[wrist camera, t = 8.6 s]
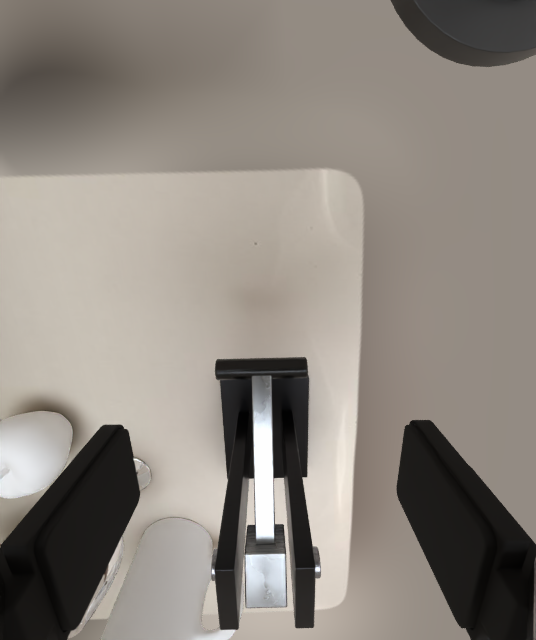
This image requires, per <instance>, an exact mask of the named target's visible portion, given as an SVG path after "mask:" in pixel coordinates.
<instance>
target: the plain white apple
mask: <svg viewBox="0 0 536 640" xmlns="http://www.w3.org/2000/svg"><path fill="white" fill-rule="evenodd" d="M72 436H73V430H72V426H71V424H70V422H69V421H68V420H67V419H66V418H65V417H64V416H63V415H61V414H59V413H56V412H49V411H34V412H29V413H24V414H18V415H14V416H11V417H8V418H5V419H2V420H0V497H3V498H19V497H23V496H27V495H31V494H34V493H36V492H38V491H40V490H42V489H44V488H46V487H47V486H48V485H49V484H50V483H52V482H53V481H54V480H55V479H56V478H57V477H58V475H59V474H60V473H61V471H62V470H63V468H64V467H65V465H66V462H67V459H68V456H69V452H70V447H71V443H72Z"/></svg>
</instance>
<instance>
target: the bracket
mask: <svg viewBox="0 0 536 640" xmlns="http://www.w3.org/2000/svg"><path fill="white" fill-rule="evenodd" d="M271 384H272V427H273V469H274V478H284V484H285V497H286V511H287V524H288V537H289V551H290V564H291V578H292V591H293V604H294V617H295V627H296V628H313V627H314V607H315V578H320V577H321V566H320V557H319V551H318V548H317V547H316V546H315V547H313V546H312V539H311V533H310V526H309V519H308V513H307V506H306V499H305V493H304V486H303V479H302V477H307V458H308V400H309V377H308V374H307V378H292V379H271ZM220 386H221V399H222V413H223V426H224V440H225V453H226V467H227V479H228V484H227V490H226V496H225V503H224V509H223V516H222V522H221V529H220V535H219V542H218V548H217V549H214V551H213V555H212V563H211V579H212V581H215V583H216V593H217V603H218V614H219V624H220V630H237V629H238V628H239V617H240V603H241V588H242V574H243V559H244V545H245V530H246V516H247V501H248V487H249V479H250V478H254V454H253V407H252V379H249V380H220Z"/></svg>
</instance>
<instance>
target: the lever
mask: <svg viewBox="0 0 536 640" xmlns="http://www.w3.org/2000/svg"><path fill="white" fill-rule="evenodd" d="M307 374H308V366H307V359H306V358H305V357H293V358H250V359H217V360H216V364H215V376H216V379H217V380H249V379H252V407H253V454H254V500H255V525H248V526H247V536H246V545H245V602H246V608H273V607H287V577H286V548H285V536H284V525H283V524H275V512H274V469H273V427H272V384H271V379H292V378H307Z"/></svg>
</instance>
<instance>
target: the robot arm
mask: <svg viewBox="0 0 536 640" xmlns="http://www.w3.org/2000/svg"><path fill="white" fill-rule="evenodd" d="M397 495H398V498H399V501H400V503H401V505H402V508H403V510H404V512H405V514H406V516H407V518H408V520H409V522H410V524H411V527H412V529H413V531H414V533H415V535H416V537H417V539H418V541H419V543H420V546H421V548H422V550H423V552H424V554H425V556H426V558H427V561H428V562H429V565H430V567H431V569H432V571H433V573H434V575H435V577H436V580H437V582H438V584H439V586H440V588H441V590H442V592H443V594H444V596H445V599H446V601H447V603H448V605H449V607H450V609H451V611H452V613H453V615H454V617H455V620H456V621H457V623H458V624H459V626H460V627H461V628H466V630H467V632H468V634H469V636H470V638H471V640H536V544H535V543H534V542H533V541H532V539H531V538H530V537H529V536H528V535H527V534H526V532H525V531H524V530H523V528H522V527H521V526H520V525H519V524H518V523H517V521H516V520H515V519H514V518H513V517H512V515H511V514H510V513H509V512H508V511H507V510H506V508H505V507H504V506H503V505H502V503H501V502H500V501H499V500H498V499H497V497H496V496H495V495H494V494H493V493H492V492H491V490H490V489H489V488H488V487H487V486H486V484H485V483H484V482H483V481H482V480H481V478H480V477H479V476H478V475H477V474H476V472H475V471H474V470H473V469H472V468H471V467H470V466H469V465H468V464H467V463H466V462H465V461H464V459H463V458H462V457H461V456H460V455H459V453H458V452H457V451H456V450H455V449H454V447H453V446H452V445H451V444H450V443H449V442H448V440H447V439H446V438H445V437H444V435H443V434H442V433H441V432H440V431H439V429H438V428H437V427H436V426H435V425H434V423H433V422H431V421H430V420H412V421H411V422H410V424H409V425H406V426H405V429H404V437H403V444H402V452H401V459H400V467H399V474H398V481H397ZM139 497H140V488H139V483H138V478H137V473H136V467H135V462H134V457H133V452H132V447H131V441H130V436H129V432H128V430H127V429H124V427H123V426H122V425H103V426H102V427H100V429H99V430H98V431H97V432H96V433H95V435H94V436H93V437H92V438H91V439H90V440H89V442H88V443H87V444H86V445H85V446H84V448H83V449H82V450H81V451H80V452H79V453H78V455H77V456H76V457H75V458H74V459H73V461H72V462H71V463H70V464H69V465H68V466H67V468H66V469H65V470H64V471H63V472H62V473H61V475H60V476H59V477H58V478H57V479H56V481H55V482H54V483H53V484H52V485H51V486H50V488H49V489H48V490H47V491H46V492H45V494H44V495H43V496H42V497H41V498H40V499H39V501H38V502H37V503H36V504H35V505H34V507H33V508H32V509H31V510H30V511H29V512H28V514H27V515H26V516H25V517H24V518H23V520H22V521H21V522H20V523H19V524H18V525H17V527H16V528H15V529H14V530H13V531H12V533H11V534H10V535H9V536H8V537H7V538H6V540H5V541H4V542H3V543H2V544H1V548H0V640H67V638H68V636H69V634H70V632H71V630H75V629H77V627H78V626H79V624H80V623H81V621H82V619H83V617H84V615H85V613H86V610H87V608H88V606H89V604H90V602H91V600H92V598H93V596H94V594H95V592H96V590H97V587H98V585H99V583H100V581H101V579H102V577H103V575H104V573H105V571H106V569H107V567H108V565H109V562H110V560H111V558H112V556H113V554H114V552H115V550H116V548H117V546H118V544H119V542H120V539H121V537H122V535H123V533H124V531H125V529H126V527H127V525H128V523H129V521H130V519H131V516H132V514H133V512H134V510H135V508H136V506H137V504H138V501H139Z"/></svg>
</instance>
